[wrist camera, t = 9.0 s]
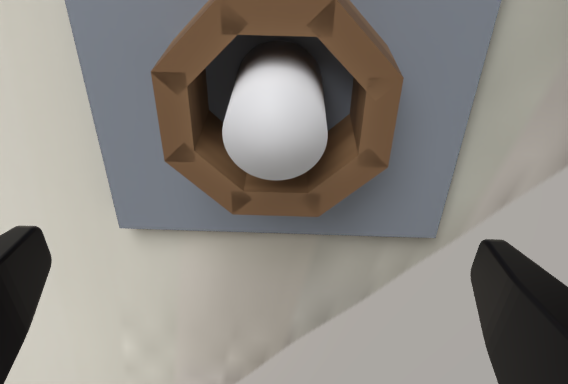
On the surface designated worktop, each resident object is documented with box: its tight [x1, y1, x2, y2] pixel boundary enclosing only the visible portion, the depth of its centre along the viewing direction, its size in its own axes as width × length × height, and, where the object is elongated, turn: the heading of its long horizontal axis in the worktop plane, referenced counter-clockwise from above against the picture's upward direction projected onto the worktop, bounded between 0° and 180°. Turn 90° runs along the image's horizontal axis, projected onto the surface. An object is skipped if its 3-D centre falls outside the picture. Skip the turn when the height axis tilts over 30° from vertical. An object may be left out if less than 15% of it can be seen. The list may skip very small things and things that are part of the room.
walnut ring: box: [151, 0, 404, 217], centre depth 15 cm, size 7×7×3 cm
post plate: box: [65, 0, 501, 238], centre depth 15 cm, size 14×14×5 cm
